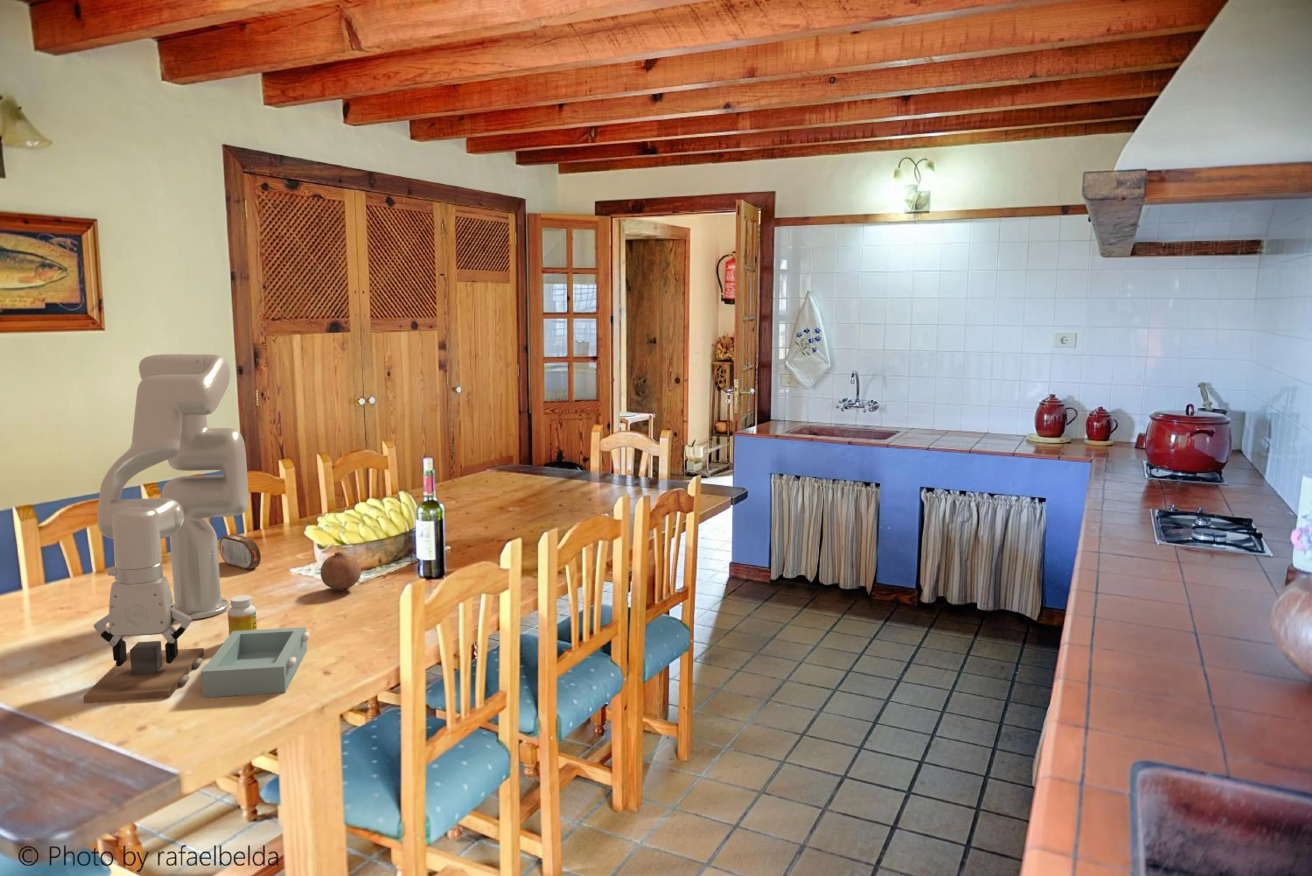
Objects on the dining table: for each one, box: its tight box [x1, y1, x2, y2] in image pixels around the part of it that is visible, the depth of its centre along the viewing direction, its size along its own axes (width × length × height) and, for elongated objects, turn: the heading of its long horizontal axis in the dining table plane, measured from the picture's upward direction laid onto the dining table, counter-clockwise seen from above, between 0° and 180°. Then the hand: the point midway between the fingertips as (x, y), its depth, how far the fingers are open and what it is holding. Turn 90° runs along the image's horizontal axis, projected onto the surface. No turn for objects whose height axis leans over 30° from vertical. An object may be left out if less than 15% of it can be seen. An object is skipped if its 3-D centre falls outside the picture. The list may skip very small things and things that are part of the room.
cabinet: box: [201, 626, 311, 699], centre depth 169 cm, size 20×15×5 cm
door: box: [82, 640, 205, 704], centre depth 166 cm, size 20×15×6 cm
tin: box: [219, 533, 261, 571], centre depth 236 cm, size 15×3×8 cm, turn 58°
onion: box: [320, 551, 362, 592], centre depth 217 cm, size 10×9×10 cm
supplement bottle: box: [227, 594, 258, 636], centre depth 184 cm, size 5×5×10 cm
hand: (146, 661), depth 166 cm, fingers open, 8 cm apart
